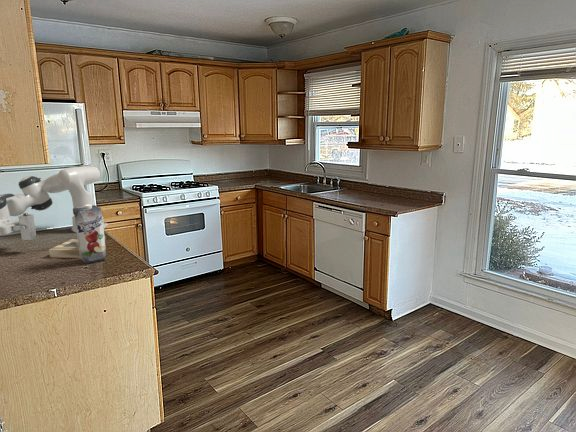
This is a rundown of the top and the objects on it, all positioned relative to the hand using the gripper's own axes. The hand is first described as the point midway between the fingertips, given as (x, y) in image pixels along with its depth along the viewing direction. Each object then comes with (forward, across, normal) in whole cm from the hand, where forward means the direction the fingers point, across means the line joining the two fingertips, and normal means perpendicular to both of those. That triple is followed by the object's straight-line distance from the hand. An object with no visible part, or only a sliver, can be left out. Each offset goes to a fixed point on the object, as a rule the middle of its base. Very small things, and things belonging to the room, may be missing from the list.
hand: (29, 226), depth 201 cm
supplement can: (+23, -20, -14) cm, 33 cm away
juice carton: (+39, +13, -14) cm, 43 cm away
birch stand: (+23, 0, -14) cm, 27 cm away
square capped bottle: (-1, 0, -7) cm, 7 cm away
